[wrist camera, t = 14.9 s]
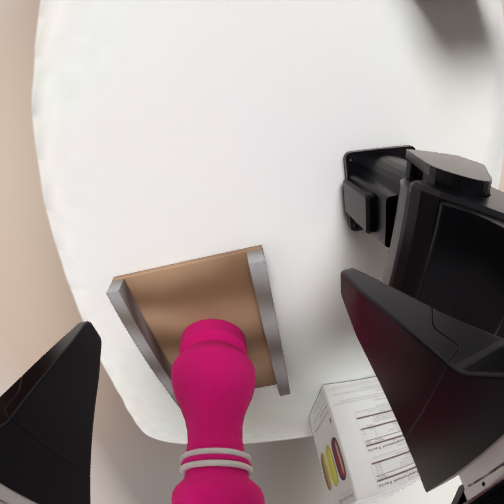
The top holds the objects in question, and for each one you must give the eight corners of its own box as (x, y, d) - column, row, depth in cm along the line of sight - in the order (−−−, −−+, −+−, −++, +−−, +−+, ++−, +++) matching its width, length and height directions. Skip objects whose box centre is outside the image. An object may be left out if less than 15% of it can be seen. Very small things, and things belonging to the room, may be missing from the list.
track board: (113, 277, 23) (105, 293, 21) (261, 244, 23) (265, 260, 21) (182, 394, 32) (181, 410, 30) (287, 377, 32) (290, 393, 30)
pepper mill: (235, 370, 29) (254, 553, 12) (169, 355, 27) (156, 550, 10) (262, 324, 26) (305, 547, 9) (185, 304, 24) (171, 554, 7)
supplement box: (321, 383, 33) (357, 501, 19) (383, 373, 34) (428, 474, 20) (307, 418, 38) (330, 515, 23) (361, 408, 39) (392, 496, 24)
